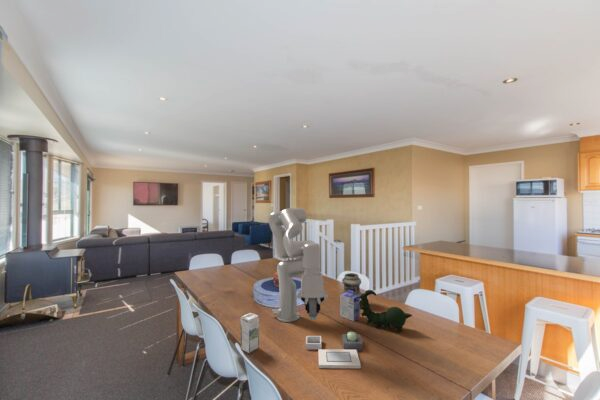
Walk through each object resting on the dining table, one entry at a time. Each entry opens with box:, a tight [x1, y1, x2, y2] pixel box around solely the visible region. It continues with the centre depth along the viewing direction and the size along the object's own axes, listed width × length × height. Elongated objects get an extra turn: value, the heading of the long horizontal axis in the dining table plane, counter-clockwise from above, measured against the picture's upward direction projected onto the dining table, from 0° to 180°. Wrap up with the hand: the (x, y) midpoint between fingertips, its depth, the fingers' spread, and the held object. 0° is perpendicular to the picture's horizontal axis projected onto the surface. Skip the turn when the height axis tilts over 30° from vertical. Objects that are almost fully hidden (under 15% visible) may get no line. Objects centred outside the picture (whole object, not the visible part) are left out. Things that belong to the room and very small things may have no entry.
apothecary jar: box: [341, 272, 362, 300], centre depth 169 cm, size 12×12×18 cm
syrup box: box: [240, 312, 260, 354], centre depth 119 cm, size 6×6×14 cm
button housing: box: [341, 333, 364, 351], centre depth 120 cm, size 8×8×3 cm
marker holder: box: [305, 335, 323, 350], centre depth 121 cm, size 7×7×2 cm
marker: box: [308, 298, 319, 320], centre depth 121 cm, size 4×4×10 cm
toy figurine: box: [359, 289, 413, 333], centre depth 136 cm, size 9×19×25 cm
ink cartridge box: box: [339, 290, 361, 322], centre depth 149 cm, size 10×6×14 cm, turn 41°
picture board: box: [317, 348, 362, 369], centre depth 109 cm, size 16×11×1 cm
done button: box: [346, 331, 357, 341], centre depth 120 cm, size 4×4×4 cm
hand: (312, 311), depth 121 cm, fingers closed on marker, 4 cm apart
